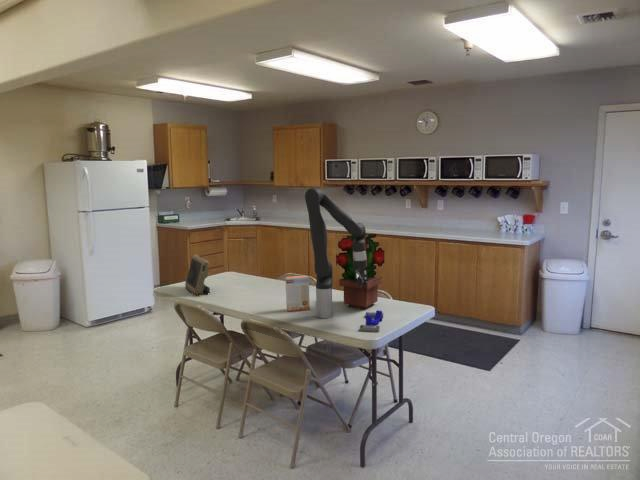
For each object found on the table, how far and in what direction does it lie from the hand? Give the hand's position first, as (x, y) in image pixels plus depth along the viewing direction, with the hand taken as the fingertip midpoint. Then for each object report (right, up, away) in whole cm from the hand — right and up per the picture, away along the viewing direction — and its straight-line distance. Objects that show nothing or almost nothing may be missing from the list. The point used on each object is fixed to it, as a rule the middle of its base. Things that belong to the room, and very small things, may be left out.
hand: (362, 287), depth 271 cm
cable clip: (+7, -20, -5) cm, 22 cm away
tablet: (-113, -11, +78) cm, 138 cm away
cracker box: (-37, -17, +25) cm, 48 cm away
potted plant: (+2, -15, +32) cm, 35 cm away
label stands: (+5, -20, -4) cm, 21 cm away
